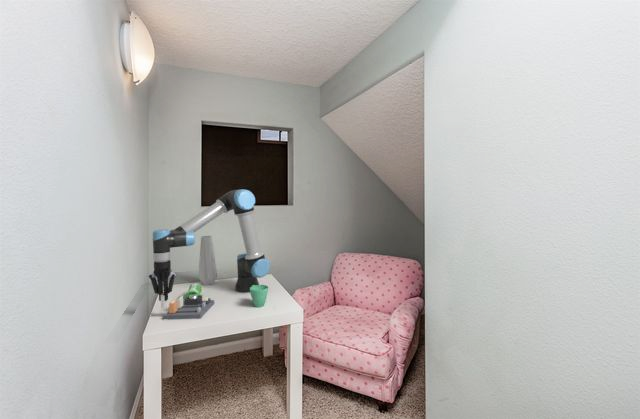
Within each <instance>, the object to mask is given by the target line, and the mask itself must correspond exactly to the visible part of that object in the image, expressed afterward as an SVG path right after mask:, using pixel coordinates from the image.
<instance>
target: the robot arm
mask: <svg viewBox="0 0 640 419" xmlns="http://www.w3.org/2000/svg"><path fill="white" fill-rule="evenodd" d="M255 204H256V197H255V195H254V194H253V192H252V191H251V190H248V189H243V188H242V189H232V190H230V191H228V192H227V193H225V194H223V195H222V196H221V197H218V199H216V201H215V203H213V204H212V205H210V206H208V207H206V208H205V209H204V210H202V211H200V212H199V213H198V214H196V215H195V216H193V217H191V218H190V219H189V220H187V221H185V222H184V223H182V224H180V225H179V226H178V227H176V228H174V229H171V230H170V229H168V228H167V229H164V228H163V229H155V230H154V231H152V239H151V240H152V250H153V251H152V252H153V255H152V256H153V269H154V270H153V273H151V274H150V275H148V278H149V279H150V281H151V285H152V288H153V291H154V294H157V295H158V300H159V302H160V307H161V309H163V308H164V309H165V308H166V307H167V305H168V304H167V303H168V302H167V301H168V300H169V294H170V293H172V291H173V287H174V282H175V278H176V277H177V273H176V272H175V273H174V272H172V271H173V270H172V269H171V267H172V266H171V264H172V263H171V261H172V260H171V248H172V249H173V248H182V247H190V246H193V245H195V242H196V235H195V232H197V231H199V230H200V229H202V228H203V227H205V226H206V225H207V224H209V223H211V222H212V221H213V220H215V219H216V218H218V217H220V216H221V215H222V214H227V213H228V212H230V211H233V212H234V215H235V216H236V217H237V219H238V222H239V223H238V224H239V227H240V231H241V235H242V239H243V244H244V247H245V248H244V249H245V253H239V254H238V255H237V256H236V263H237V264H236V266H237V267H236V268H237V280H236V282H235V286H234V287H235V288H234V289H235V291H237V292H239V293H240V292H241V293H247V292H248V293H250V287H252V285H260V283H259V281H258V278H264V277H266V276H267V274H268V273H269V272H270V267H271V265H270V262H269V260H268V259H266V257H265V252H263V251H262V250H261V246H260V240H259V237H258V232H257V227H256V224H255V219H254V215H253V213H254V211H255V207H254V206H255ZM169 277H170V278H169Z"/></svg>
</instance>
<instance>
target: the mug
mask: <svg viewBox="0 0 640 419" xmlns="http://www.w3.org/2000/svg"><path fill="white" fill-rule="evenodd" d="M268 291H269V286H268V285H264V284H259V285H252V287H250V292H249V293H250V297H251V300H252V303H253V305H254V307H256V308H262V307H264V306H265V304H266V301H267V296H268Z"/></svg>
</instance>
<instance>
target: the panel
mask: <svg viewBox="0 0 640 419" xmlns="http://www.w3.org/2000/svg"><path fill="white" fill-rule="evenodd" d="M214 305H215V299H211V298H210V297H203V295H202V294H200V295H198V298H197V299H189V297H187V298H186V297H185V299H184V300H183V306H182V307H181V308H178V310H177V311H176V312H175V313H169V311H168V312H166V313H165V314H164V315H163V320H164V319H168V320H195V319H197V320H199V319H202V318H203V316H204V315H205V314H206V313H207V312H208V311H210V309H211V308H212V307H213V306H214Z"/></svg>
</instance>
